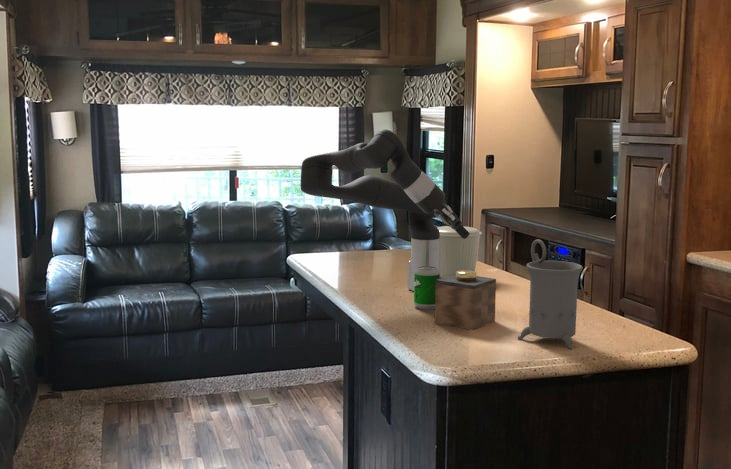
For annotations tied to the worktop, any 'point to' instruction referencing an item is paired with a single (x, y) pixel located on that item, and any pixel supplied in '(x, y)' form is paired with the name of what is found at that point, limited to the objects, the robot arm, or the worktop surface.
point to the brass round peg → (466, 275)
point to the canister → (457, 250)
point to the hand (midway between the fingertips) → (466, 236)
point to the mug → (552, 297)
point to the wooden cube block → (465, 302)
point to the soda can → (425, 286)
